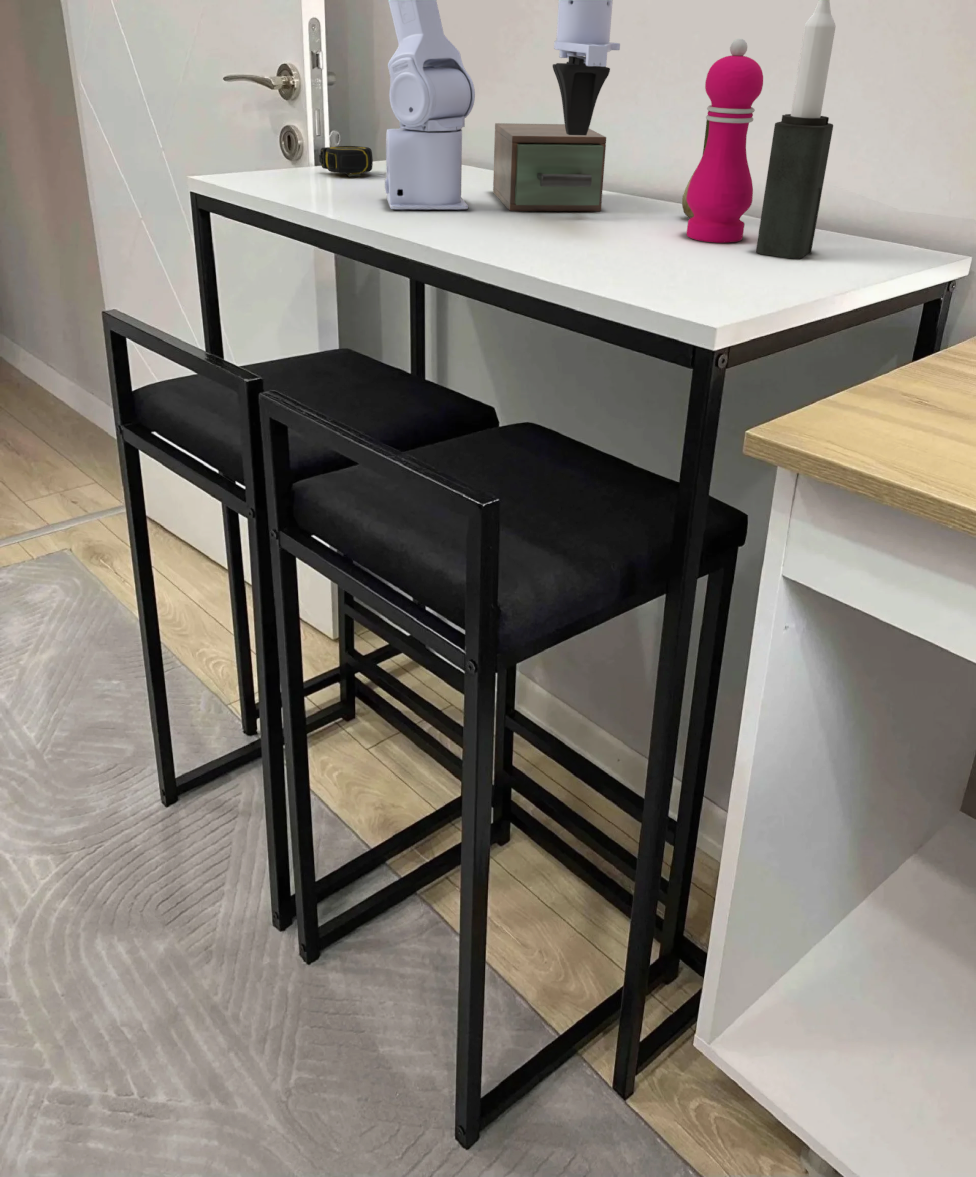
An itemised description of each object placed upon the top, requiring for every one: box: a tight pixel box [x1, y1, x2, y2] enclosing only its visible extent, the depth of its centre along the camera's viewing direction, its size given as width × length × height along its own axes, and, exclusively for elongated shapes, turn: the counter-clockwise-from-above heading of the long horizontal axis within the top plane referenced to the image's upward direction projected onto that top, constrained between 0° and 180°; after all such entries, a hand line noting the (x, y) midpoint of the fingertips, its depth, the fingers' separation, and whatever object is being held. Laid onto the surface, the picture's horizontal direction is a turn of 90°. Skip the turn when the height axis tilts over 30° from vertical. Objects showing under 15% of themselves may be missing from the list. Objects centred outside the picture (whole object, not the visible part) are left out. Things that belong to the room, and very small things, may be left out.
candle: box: [755, 0, 836, 259], centre depth 107 cm, size 5×5×25 cm
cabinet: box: [492, 122, 607, 212], centre depth 135 cm, size 14×12×9 cm
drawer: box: [515, 143, 603, 205], centre depth 132 cm, size 17×10×7 cm, turn 8°
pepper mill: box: [686, 38, 764, 244], centre depth 115 cm, size 7×7×20 cm
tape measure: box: [318, 145, 374, 177], centre depth 151 cm, size 7×7×4 cm
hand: (576, 134), depth 118 cm, fingers closed
